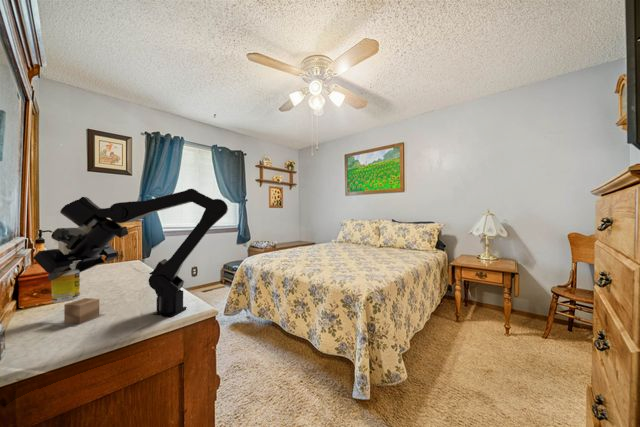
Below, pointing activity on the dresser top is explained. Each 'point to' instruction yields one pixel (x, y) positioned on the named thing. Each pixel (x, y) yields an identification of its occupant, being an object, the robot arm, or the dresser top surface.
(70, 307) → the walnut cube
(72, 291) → the supplement bottle
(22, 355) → the dresser top surface
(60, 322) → the grey flat slab
